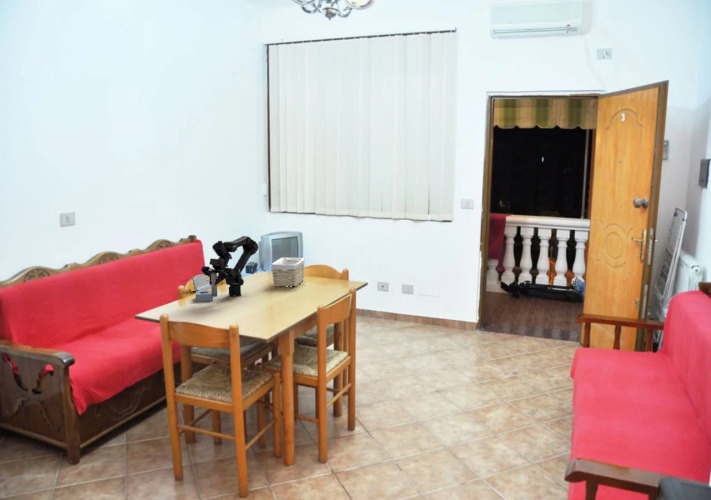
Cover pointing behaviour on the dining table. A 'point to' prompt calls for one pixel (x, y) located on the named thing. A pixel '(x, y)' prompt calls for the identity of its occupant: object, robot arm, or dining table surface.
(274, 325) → the dining table surface
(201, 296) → the hole block
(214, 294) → the peg
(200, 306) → the dining table surface
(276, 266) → the storage basket
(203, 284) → the hinge
